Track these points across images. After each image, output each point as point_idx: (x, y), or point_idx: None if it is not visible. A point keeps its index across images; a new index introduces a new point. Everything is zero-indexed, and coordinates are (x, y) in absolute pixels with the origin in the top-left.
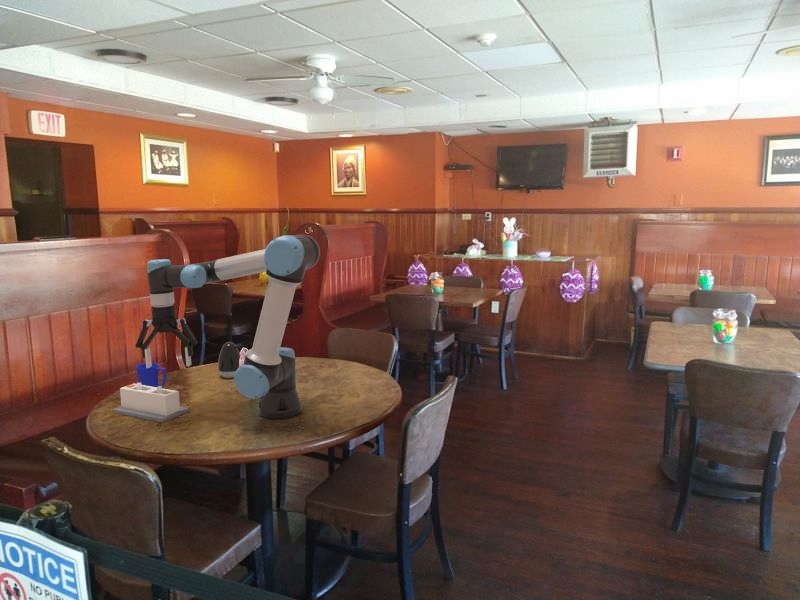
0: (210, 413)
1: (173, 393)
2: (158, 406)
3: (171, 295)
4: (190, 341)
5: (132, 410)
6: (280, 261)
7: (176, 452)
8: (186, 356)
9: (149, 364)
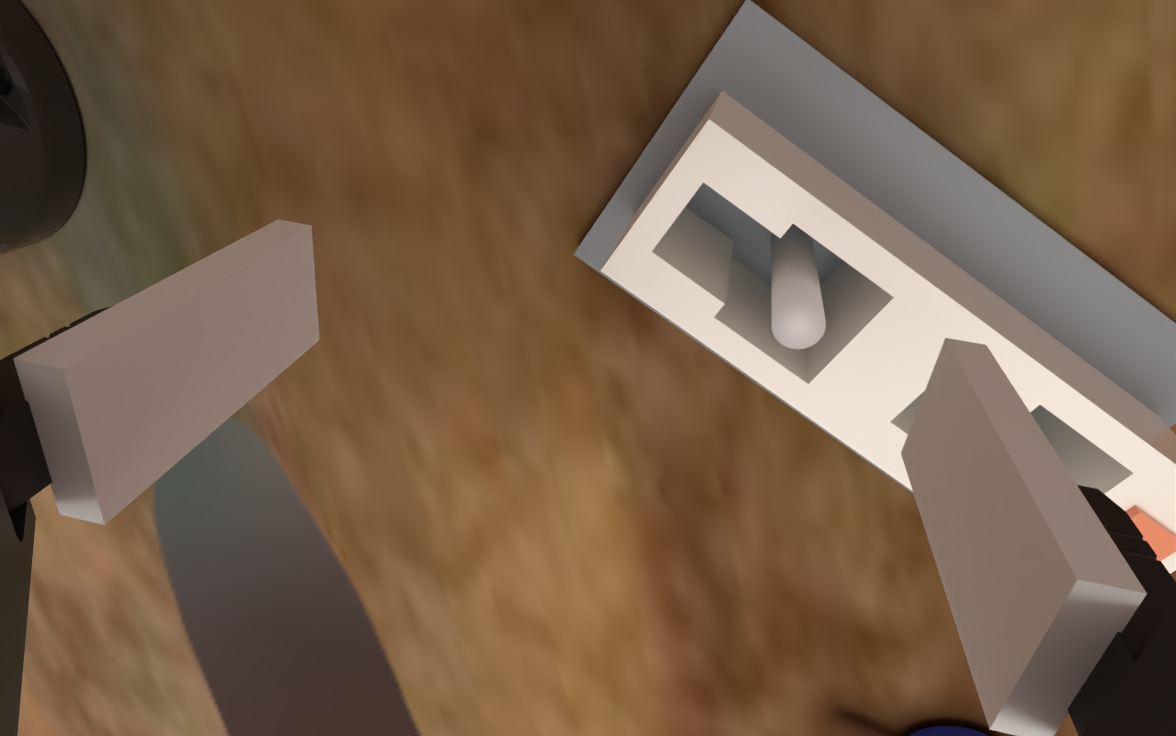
0: (407, 161)
1: (640, 214)
2: (797, 159)
3: None
4: None
5: (1050, 301)
6: None
7: None
8: (191, 285)
9: (941, 404)
